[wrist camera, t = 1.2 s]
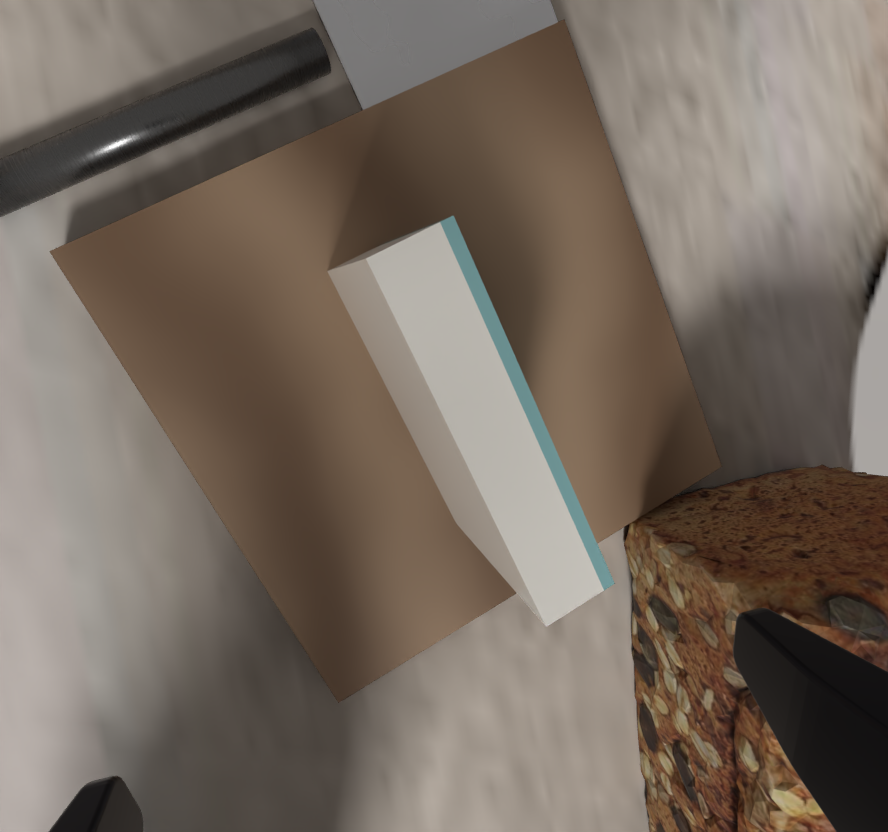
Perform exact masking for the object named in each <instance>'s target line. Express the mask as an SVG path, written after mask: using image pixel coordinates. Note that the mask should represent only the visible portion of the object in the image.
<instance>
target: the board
mask: <svg viewBox="0 0 888 832" xmlns="http://www.w3.org/2000/svg"><path fill="white" fill-rule="evenodd" d="M451 216H454V218H455V220H456V222H457V225H458V227H459V229H460V232H461V234H462V236H463V238H464V241H465V243H466V245H467V248H468V250H469V252H470V254H471V257H472V259H473V261H474V264H475V266H476V268H477V270H478V273H479V275H480V277H481V280H482V282H483V284H484V286H485V289H486V291H487V293H488V295H489V298H490V300H491V302H492V305H493V307H494V309H495V311H496V314H497V316H498V318H499V321H500V323H501V325H502V327H503V330H504V332H505V334H506V337H507V339H508V341H509V343H510V346H511V348H512V350H513V353H514V355H515V357H516V359H517V362H518V364H519V366H520V369H521V371H522V373H523V375H524V378H525V380H526V382H527V385H528V387H529V389H530V391H531V394H532V396H533V398H534V401H535V403H536V405H537V407H538V410H539V412H540V414H541V417H542V419H543V421H544V423H545V426H546V428H547V430H548V433H549V435H550V437H551V439H552V442H553V444H554V446H555V449H556V451H557V453H558V455H559V458H560V460H561V462H562V465H563V467H564V469H565V471H566V474H567V476H568V478H569V480H570V483H571V485H572V487H573V490H574V492H575V494H576V496H577V499H578V501H579V503H580V506H581V508H582V510H583V512H584V515H585V517H586V519H587V522H588V524H589V526H590V528H591V531H592V533H593V535H594V538H595V540H596V542H597V543H599V542H600V541H602V540H604V539H605V538H607V537H609V536H610V535H612V534H613V533H615V532H617V531H618V530H620V529H622V528H623V527H625V526H626V525H628V524H630V523H631V522H633V521H635V520H636V519H638V518H639V517H641V516H643V515H644V514H646V513H647V512H649V511H651V510H652V509H654V508H656V507H657V506H659V505H660V504H662V503H664V502H665V501H667V500H669V499H670V498H672V497H673V496H675V495H677V494H678V493H680V492H682V491H683V490H685V489H686V488H688V487H690V486H691V485H693V484H695V483H696V482H698V481H699V480H701V479H703V478H704V477H706V476H708V475H709V474H711V473H712V472H714V471H716V470H717V469H719V468H721V467H722V465H721V462H720V460H719V457H718V454H717V451H716V448H715V445H714V443H713V440H712V437H711V434H710V431H709V428H708V426H707V423H706V420H705V417H704V414H703V411H702V409H701V406H700V403H699V400H698V397H697V394H696V391H695V389H694V386H693V383H692V380H691V377H690V374H689V372H688V369H687V366H686V363H685V360H684V357H683V355H682V352H681V349H680V346H679V343H678V340H677V338H676V335H675V332H674V329H673V326H672V323H671V321H670V318H669V315H668V312H667V309H666V306H665V304H664V301H663V298H662V295H661V292H660V289H659V287H658V284H657V281H656V278H655V275H654V272H653V270H652V267H651V264H650V261H649V258H648V255H647V252H646V250H645V247H644V244H643V241H642V238H641V235H640V233H639V230H638V227H637V224H636V221H635V218H634V216H633V213H632V210H631V207H630V204H629V201H628V199H627V196H626V193H625V190H624V187H623V184H622V182H621V179H620V176H619V173H618V170H617V167H616V165H615V162H614V159H613V156H612V153H611V150H610V148H609V145H608V142H607V139H606V136H605V133H604V131H603V128H602V125H601V122H600V119H599V116H598V113H597V111H596V108H595V105H594V102H593V99H592V96H591V94H590V91H589V88H588V85H587V82H586V79H585V77H584V74H583V71H582V68H581V65H580V62H579V60H578V57H577V54H576V51H575V48H574V45H573V43H572V40H571V37H570V34H569V31H568V28H567V26H566V23H565V20H562V21H559V22H557V23H555V24H553V25H551V26H548V27H546V28H544V29H542V30H539V31H537V32H535V33H533V34H531V35H528V36H526V37H524V38H522V39H520V40H517V41H515V42H513V43H511V44H508V45H506V46H504V47H502V48H500V49H497V50H495V51H493V52H491V53H488V54H486V55H484V56H482V57H480V58H477V59H475V60H473V61H471V62H468V63H466V64H464V65H462V66H460V67H457V68H455V69H453V70H451V71H449V72H446V73H444V74H442V75H440V76H437V77H435V78H433V79H431V80H429V81H426V82H424V83H422V84H420V85H417V86H415V87H413V88H411V89H409V90H406V91H404V92H402V93H400V94H398V95H395V96H393V97H391V98H389V99H386V100H384V101H382V102H380V103H378V104H375V105H373V106H371V107H369V108H366V109H364V110H362V111H360V112H358V113H355V114H353V115H351V116H349V117H346V118H344V119H342V120H340V121H338V122H335V123H333V124H331V125H329V126H327V127H324V128H322V129H320V130H318V131H315V132H313V133H311V134H309V135H307V136H304V137H302V138H300V139H298V140H295V141H293V142H291V143H289V144H287V145H284V146H282V147H280V148H278V149H276V150H273V151H271V152H269V153H267V154H264V155H262V156H260V157H258V158H256V159H253V160H251V161H249V162H247V163H244V164H242V165H240V166H238V167H236V168H233V169H231V170H229V171H227V172H224V173H222V174H220V175H218V176H216V177H213V178H211V179H209V180H207V181H205V182H202V183H200V184H198V185H196V186H193V187H191V188H189V189H187V190H185V191H182V192H180V193H178V194H176V195H173V196H171V197H169V198H167V199H165V200H162V201H160V202H158V203H156V204H154V205H151V206H149V207H147V208H145V209H142V210H140V211H138V212H136V213H134V214H131V215H129V216H127V217H125V218H122V219H120V220H118V221H116V222H114V223H111V224H109V225H107V226H105V227H103V228H100V229H98V230H96V231H94V232H91V233H89V234H87V235H85V236H83V237H80V238H78V239H76V240H74V241H71V242H69V243H67V244H65V245H63V246H60V247H58V248H56V249H54V250H51V251H50V253H51V255H52V256H53V258H54V259H55V261H56V262H57V264H58V266H59V267H60V269H61V270H62V272H63V273H64V275H65V276H66V278H67V280H68V281H69V283H70V284H71V286H72V287H73V289H74V290H75V292H76V294H77V295H78V297H79V298H80V300H81V301H82V303H83V305H84V306H85V308H86V309H87V311H88V312H89V314H90V315H91V317H92V319H93V320H94V322H95V323H96V325H97V326H98V328H99V330H100V331H101V333H102V334H103V336H104V337H105V339H106V340H107V342H108V344H109V345H110V347H111V348H112V350H113V351H114V353H115V355H116V356H117V358H118V359H119V361H120V362H121V364H122V365H123V367H124V369H125V370H126V372H127V373H128V375H129V376H130V378H131V380H132V381H133V383H134V384H135V386H136V387H137V389H138V390H139V392H140V394H141V395H142V397H143V398H144V400H145V401H146V403H147V405H148V406H149V408H150V409H151V411H152V412H153V414H154V415H155V417H156V419H157V420H158V422H159V423H160V425H161V426H162V428H163V430H164V431H165V433H166V434H167V436H168V437H169V439H170V440H171V442H172V444H173V445H174V447H175V448H176V450H177V451H178V453H179V455H180V456H181V458H182V459H183V461H184V462H185V464H186V465H187V467H188V469H189V470H190V472H191V473H192V475H193V476H194V478H195V480H196V481H197V483H198V484H199V486H200V487H201V489H202V490H203V492H204V494H205V495H206V497H207V498H208V500H209V501H210V503H211V505H212V506H213V508H214V509H215V511H216V512H217V514H218V515H219V517H220V519H221V520H222V522H223V523H224V525H225V526H226V528H227V529H228V531H229V533H230V534H231V536H232V537H233V539H234V540H235V542H236V544H237V545H238V547H239V548H240V550H241V551H242V553H243V554H244V556H245V558H246V559H247V561H248V562H249V564H250V565H251V567H252V569H253V570H254V572H255V573H256V575H257V576H258V578H259V579H260V581H261V583H262V584H263V586H264V587H265V589H266V590H267V592H268V594H269V595H270V597H271V598H272V600H273V601H274V603H275V604H276V606H277V608H278V609H279V611H280V612H281V614H282V615H283V617H284V619H285V620H286V622H287V623H288V625H289V626H290V628H291V629H292V631H293V633H294V634H295V636H296V637H297V639H298V640H299V642H300V644H301V645H302V647H303V648H304V650H305V651H306V653H307V654H308V656H309V658H310V659H311V661H312V662H313V664H314V665H315V667H316V669H317V670H318V672H319V673H320V675H321V676H322V678H323V679H324V681H325V683H326V684H327V686H328V687H329V689H330V690H331V692H332V694H333V695H334V697H335V698H336V700H337V701H338V703H339V702H341V701H342V700H344V699H346V698H347V697H349V696H351V695H352V694H354V693H355V692H357V691H359V690H360V689H362V688H364V687H365V686H367V685H368V684H370V683H372V682H373V681H375V680H376V679H378V678H380V677H381V676H383V675H385V674H386V673H388V672H389V671H391V670H393V669H394V668H396V667H398V666H399V665H401V664H402V663H404V662H406V661H407V660H409V659H411V658H412V657H414V656H415V655H417V654H419V653H420V652H422V651H424V650H425V649H427V648H428V647H430V646H432V645H433V644H435V643H437V642H438V641H440V640H441V639H443V638H445V637H446V636H448V635H450V634H451V633H453V632H454V631H456V630H458V629H459V628H461V627H463V626H464V625H466V624H467V623H469V622H471V621H472V620H474V619H475V618H477V617H479V616H480V615H482V614H484V613H485V612H487V611H488V610H490V609H492V608H493V607H495V606H497V605H498V604H500V603H501V602H503V601H505V600H506V599H508V598H510V597H511V596H513V595H514V594H516V592H515V591H514V589H513V588H512V587H511V586H510V585H509V584H508V582H507V581H506V580H505V579H504V578H503V577H502V576H501V574H500V573H499V572H498V571H497V570H496V569H495V567H494V566H493V565H492V564H491V563H490V562H489V561H488V559H487V558H486V557H485V556H484V555H483V554H482V552H481V551H480V550H479V549H478V548H477V547H476V546H475V544H474V543H473V542H472V541H471V540H470V539H469V537H468V536H467V535H466V534H465V533H464V532H463V531H462V529H461V528H460V527H459V526H458V525H457V524H456V522H455V520H454V518H453V516H452V514H451V512H450V510H449V508H448V506H447V505H446V503H445V501H444V499H443V497H442V495H441V493H440V491H439V489H438V487H437V485H436V483H435V481H434V479H433V477H432V475H431V473H430V471H429V469H428V467H427V465H426V463H425V462H424V460H423V458H422V456H421V454H420V452H419V450H418V448H417V446H416V444H415V442H414V440H413V438H412V436H411V434H410V432H409V430H408V428H407V426H406V424H405V422H404V420H403V418H402V417H401V415H400V413H399V411H398V409H397V407H396V405H395V403H394V401H393V399H392V397H391V395H390V393H389V391H388V389H387V387H386V385H385V383H384V381H383V379H382V377H381V375H380V373H379V372H378V370H377V368H376V366H375V364H374V362H373V360H372V358H371V356H370V354H369V352H368V350H367V348H366V346H365V344H364V342H363V340H362V338H361V336H360V334H359V332H358V330H357V328H356V327H355V325H354V323H353V321H352V319H351V317H350V315H349V313H348V311H347V309H346V307H345V305H344V303H343V301H342V299H341V297H340V295H339V293H338V291H337V289H336V287H335V285H334V283H333V282H332V280H331V278H330V276H329V274H328V272H327V271H329V270H331V269H333V268H335V267H337V266H339V265H341V264H343V263H345V262H347V261H349V260H351V259H353V258H355V257H357V256H359V255H361V254H363V253H365V252H367V251H369V250H371V249H373V248H375V247H378V246H380V245H382V244H384V243H386V242H388V241H391V240H393V239H396V238H398V237H401V236H403V235H406V234H408V233H411V232H413V231H416V230H418V229H421V228H423V227H426V226H428V225H431V224H433V223H436V222H438V221H441V220H443V219H446V218H448V217H451Z"/></svg>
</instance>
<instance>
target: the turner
mask: <svg viewBox="0 0 888 832" xmlns="http://www.w3.org/2000/svg"><path fill="white" fill-rule="evenodd" d="M312 1H313V3H314V5H315V8H316V10H317V12H318V14H319V16H320V18H321V21H322V23H323V25H324V27H325V29H326V32H327V34H328V36H329V38H330V40H331V42H332V45H333V47H334V49H335V51H336V53H337V55H338V58H339V60H340V62H341V64H342V66H343V69H344V71H345V73H346V75H347V77H348V79H349V82H350V84H351V86H352V88H353V90H354V93H355V95H356V97H357V99H358V101H359V103H360V106H361V108H362V110H364V109H366V108H369V107H371V106H373V105H375V104H378V103H380V102H382V101H384V100H386V99H389V98H391V97H393V96H395V95H398V94H400V93H402V92H404V91H406V90H409V89H411V88H413V87H415V86H417V85H420V84H422V83H424V82H426V81H429V80H431V79H433V78H435V77H437V76H440V75H442V74H444V73H446V72H449V71H451V70H453V69H455V68H457V67H460V66H462V65H464V64H466V63H468V62H471V61H473V60H475V59H477V58H480V57H482V56H484V55H486V54H488V53H491V52H493V51H495V50H497V49H500V48H502V47H504V46H506V45H508V44H511V43H513V42H515V41H517V40H520V39H522V38H524V37H526V36H528V35H531V34H533V33H535V32H537V31H539V30H542V29H544V28H546V27H548V26H551V25H553V24H555V23H557V22H558V20H557V18H556V15H555V12H554V9H553V6H552V3H551V1H550V0H312ZM330 72H331V67H330V62H329V59H328V55H327V53H326V50H325V48H324V45H323V43H322V41H321V39H320V37H319V35H318V34H317V32H316V31H315V30H314V29H313V28H310V29H308V30H305V31H303V32H301V33H298V34H296V35H293V36H291V37H289V38H286V39H284V40H282V41H279V42H277V43H274V44H272V45H270V46H267V47H265V48H263V49H260V50H258V51H256V52H253V53H251V54H248V55H246V56H244V57H241V58H239V59H237V60H234V61H232V62H229V63H227V64H225V65H222V66H220V67H218V68H215V69H213V70H210V71H208V72H206V73H203V74H201V75H199V76H196V77H194V78H192V79H189V80H187V81H184V82H182V83H180V84H177V85H175V86H173V87H170V88H168V89H165V90H163V91H161V92H158V93H156V94H154V95H151V96H149V97H146V98H144V99H142V100H139V101H137V102H135V103H132V104H130V105H128V106H125V107H123V108H120V109H118V110H116V111H113V112H111V113H109V114H106V115H104V116H101V117H99V118H97V119H94V120H92V121H90V122H87V123H85V124H82V125H80V126H78V127H75V128H73V129H71V130H68V131H66V132H64V133H61V134H59V135H56V136H54V137H52V138H49V139H47V140H45V141H42V142H40V143H37V144H35V145H33V146H30V147H28V148H26V149H23V150H21V151H18V152H16V153H14V154H11V155H9V156H7V157H4V158H2V159H0V217H2V216H5V215H7V214H9V213H11V212H14V211H16V210H18V209H21V208H23V207H25V206H27V205H30V204H32V203H34V202H37V201H39V200H41V199H44V198H46V197H48V196H50V195H53V194H55V193H57V192H60V191H62V190H64V189H66V188H69V187H71V186H73V185H76V184H78V183H80V182H82V181H85V180H87V179H89V178H92V177H94V176H96V175H98V174H101V173H103V172H105V171H108V170H110V169H112V168H114V167H117V166H119V165H121V164H124V163H126V162H128V161H130V160H133V159H135V158H137V157H140V156H142V155H144V154H146V153H149V152H151V151H153V150H156V149H158V148H160V147H162V146H165V145H167V144H169V143H172V142H174V141H176V140H179V139H181V138H183V137H185V136H188V135H190V134H192V133H195V132H197V131H199V130H201V129H204V128H206V127H208V126H211V125H213V124H215V123H217V122H220V121H222V120H224V119H227V118H229V117H231V116H233V115H236V114H238V113H240V112H243V111H245V110H247V109H249V108H252V107H254V106H256V105H259V104H261V103H263V102H265V101H268V100H270V99H272V98H275V97H277V96H279V95H281V94H284V93H286V92H288V91H291V90H293V89H295V88H297V87H300V86H302V85H304V84H307V83H309V82H311V81H314V80H316V79H318V78H320V77H323V76H325V75H327V74H330Z"/></svg>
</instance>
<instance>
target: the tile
mask: <svg viewBox="0 0 888 832" xmlns="http://www.w3.org/2000/svg"><path fill="white" fill-rule="evenodd" d="M327 272H328V274H329V276H330V278H331V280H332V282H333V283H334V285H335V287H336V289H337V291H338V293H339V295H340V297H341V299H342V301H343V303H344V305H345V307H346V309H347V311H348V313H349V315H350V317H351V319H352V321H353V323H354V325H355V327H356V328H357V330H358V332H359V334H360V336H361V338H362V340H363V342H364V344H365V346H366V348H367V350H368V352H369V354H370V356H371V358H372V360H373V362H374V364H375V366H376V368H377V370H378V372H379V373H380V375H381V377H382V379H383V381H384V383H385V385H386V387H387V389H388V391H389V393H390V395H391V397H392V399H393V401H394V403H395V405H396V407H397V409H398V411H399V413H400V415H401V417H402V418H403V420H404V422H405V424H406V426H407V428H408V430H409V432H410V434H411V436H412V438H413V440H414V442H415V444H416V446H417V448H418V450H419V452H420V454H421V456H422V458H423V460H424V462H425V463H426V465H427V467H428V469H429V471H430V473H431V475H432V477H433V479H434V481H435V483H436V485H437V487H438V489H439V491H440V493H441V495H442V497H443V499H444V501H445V503H446V505H447V506H448V508H449V510H450V512H451V514H452V516H453V518H454V520H455V522H456V524H457V525H458V526H459V527H460V528H461V529H462V531H463V532H464V533H465V534H466V535H467V536H468V537H469V539H470V540H471V541H472V542H473V543H474V544H475V546H476V547H477V548H478V549H479V550H480V551H481V552H482V554H483V555H484V556H485V557H486V558H487V559H488V561H489V562H490V563H491V564H492V565H493V566H494V567H495V569H496V570H497V571H498V572H499V573H500V574H501V576H502V577H503V578H504V579H505V580H506V581H507V582H508V584H509V585H510V586H511V587H512V588H513V589H514V591H515V592H516V593H517V594H518V595H519V596H520V597H521V599H522V600H523V601H524V602H525V603H526V604H527V606H528V607H529V608H530V609H531V610H532V611H533V612H534V614H535V615H536V616H537V617H538V618H539V619H540V621H541V622H542V623H543V624H544V625H545V626H546V627H547V626H548V625H550V624H552V623H553V622H555V621H556V620H558V619H560V618H561V617H563V616H564V615H566V614H567V613H569V612H571V611H572V610H574V609H575V608H577V607H579V606H580V605H582V604H583V603H585V602H586V601H588V600H590V599H591V598H593V597H594V596H596V595H598V594H599V593H601V592H602V591H604V590H605V589H607V588H609V587H610V586H612V585H613V584H615V583H614V581H613V579H612V576H611V574H610V572H609V570H608V567H607V565H606V563H605V560H604V558H603V556H602V554H601V551H600V549H599V547H598V544H597V542H596V540H595V538H594V535H593V533H592V531H591V528H590V526H589V524H588V522H587V519H586V517H585V515H584V512H583V510H582V508H581V506H580V503H579V501H578V499H577V496H576V494H575V492H574V490H573V487H572V485H571V483H570V480H569V478H568V476H567V474H566V471H565V469H564V467H563V465H562V462H561V460H560V458H559V455H558V453H557V451H556V449H555V446H554V444H553V442H552V439H551V437H550V435H549V433H548V430H547V428H546V426H545V423H544V421H543V419H542V417H541V414H540V412H539V410H538V407H537V405H536V403H535V401H534V398H533V396H532V394H531V391H530V389H529V387H528V385H527V382H526V380H525V378H524V375H523V373H522V371H521V369H520V366H519V364H518V362H517V359H516V357H515V355H514V353H513V350H512V348H511V346H510V343H509V341H508V339H507V337H506V334H505V332H504V330H503V327H502V325H501V323H500V321H499V318H498V316H497V314H496V311H495V309H494V307H493V305H492V302H491V300H490V298H489V295H488V293H487V291H486V289H485V286H484V284H483V282H482V280H481V277H480V275H479V273H478V270H477V268H476V266H475V264H474V261H473V259H472V257H471V254H470V252H469V250H468V248H467V245H466V243H465V241H464V238H463V236H462V234H461V232H460V229H459V227H458V225H457V222H456V220H455V218H454V216H451V217H448V218H446V219H443V220H441V221H438V222H436V223H433V224H431V225H428V226H426V227H423V228H421V229H418V230H416V231H413V232H411V233H408V234H406V235H403V236H401V237H398V238H396V239H393V240H391V241H388V242H386V243H384V244H382V245H380V246H378V247H375V248H373V249H371V250H369V251H367V252H365V253H363V254H361V255H359V256H357V257H355V258H353V259H351V260H349V261H347V262H345V263H343V264H341V265H339V266H337V267H335V268H333V269H331V270H329V271H327Z"/></svg>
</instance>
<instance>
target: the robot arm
mask: <svg viewBox="0 0 888 832" xmlns="http://www.w3.org/2000/svg"><path fill="white" fill-rule="evenodd" d="M733 657H734V661H735V663H736V666H737V668H738V670H739V672H740V674H741V675H742V677H743V679H744V681H745V683H746V684H747V686H748V688H749V690H750V692H751V694H752V695H753V697H754V699H755V701H756V703H757V704H758V706H759V708H760V710H761V712H762V714H763V715H764V717H765V719H766V721H767V723H768V724H769V726H770V728H771V730H772V732H773V734H774V735H775V737H776V739H777V741H778V743H779V744H780V746H781V748H782V750H783V752H784V753H785V755H786V757H787V758H788V760H789V762H790V764H791V765H792V767H793V768H794V770H795V771H796V773H797V774H798V776H799V778H800V779H801V781H802V782H803V784H804V785H805V787H806V788H807V789H808V791H809V792H810V794H811V795H812V797H813V798H814V800H815V801H816V803H817V804H818V806H819V807H820V809H821V810H822V812H823V813H824V814H825V816H826V817H827V819H828V820H829V822H830V823H831V825H832V826H833V828H834V829H835V831H836V832H888V672H887V671H886V670H884V669H882V668H880V667H878V666H876V665H874V664H872V663H870V662H869V661H867V660H865V659H863V658H861V657H859V656H857V655H855V654H853V653H852V652H850V651H848V650H846V649H844V648H842V647H840V646H838V645H836V644H834V643H833V642H831V641H829V640H827V639H825V638H823V637H821V636H819V635H817V634H816V633H814V632H812V631H810V630H808V629H806V628H804V627H802V626H800V625H799V624H797V623H795V622H793V621H791V620H789V619H787V618H785V617H783V616H782V615H780V614H778V613H776V612H774V611H772V610H770V609H767V608H757V609H753V610H749V611H745V612H742V613H740V614H739V615H738V617H737V619H736V626H735V635H734V643H733ZM49 832H143V818H142V813H141V810H140V808H139V806H138V805H137V803H136V801H135V800H134V798H133V796H132V794H131V793H130V791H129V789H128V788H127V786H126V784H125V783H124V781H123V780H122V778H120V777H118V776H111V777H107V778H103V779H99V780H95V781H92V782H89V783H87V784H86V785H85V786H84V787H82V788H81V790H80V791H79V792H78V793H77V795H76V796H75V797H74V799H73V800H72V801H71V803H70V804H69V805H68V807H67V808H66V809H65V811H64V812H63V813H62V815H61V816H60V817H59V819H58V820H57V821H56V823H55V824H54V825H53V827H52V828H51V829H50V831H49Z"/></svg>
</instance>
